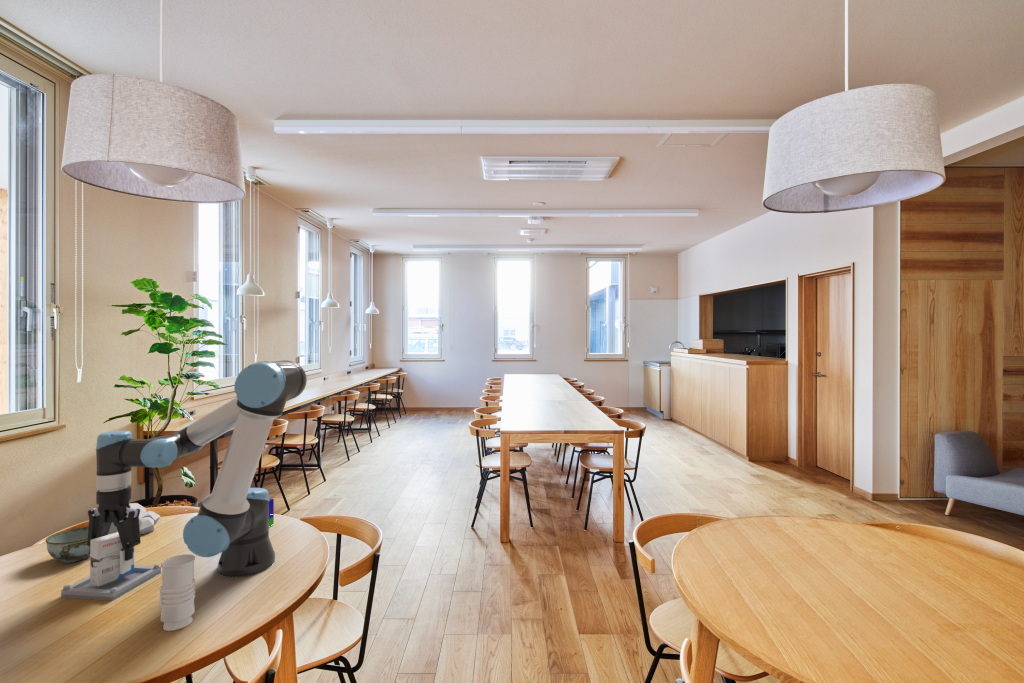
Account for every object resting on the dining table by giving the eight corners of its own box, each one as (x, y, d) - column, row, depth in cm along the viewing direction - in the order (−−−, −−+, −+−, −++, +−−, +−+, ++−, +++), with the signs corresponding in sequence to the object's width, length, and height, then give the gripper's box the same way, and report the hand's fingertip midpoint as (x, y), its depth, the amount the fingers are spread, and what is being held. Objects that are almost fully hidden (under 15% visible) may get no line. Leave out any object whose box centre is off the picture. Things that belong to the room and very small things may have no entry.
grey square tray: (160, 573, 140) (160, 563, 140) (113, 600, 125) (113, 590, 125) (113, 571, 141) (113, 561, 141) (61, 597, 126) (61, 587, 126)
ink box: (125, 569, 138) (126, 528, 138) (134, 573, 135) (135, 531, 135) (88, 582, 130) (89, 539, 130) (98, 587, 128) (98, 542, 128)
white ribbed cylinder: (157, 623, 115) (157, 560, 115) (191, 611, 120) (191, 551, 120) (162, 635, 110) (162, 570, 110) (198, 623, 115) (198, 560, 115)
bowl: (32, 567, 143) (33, 540, 143) (82, 548, 156) (82, 524, 157) (67, 572, 140) (67, 545, 140) (115, 553, 153) (115, 527, 153)
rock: (160, 517, 185) (160, 492, 185) (161, 534, 169) (162, 506, 169) (97, 528, 173) (97, 502, 173) (93, 547, 158) (93, 518, 158)
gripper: (157, 484, 136) (157, 566, 136) (95, 482, 138) (95, 563, 138) (134, 492, 128) (133, 579, 128) (68, 490, 130) (68, 575, 130)
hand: (113, 570), depth 133 cm, fingers closed on ink box, 6 cm apart
